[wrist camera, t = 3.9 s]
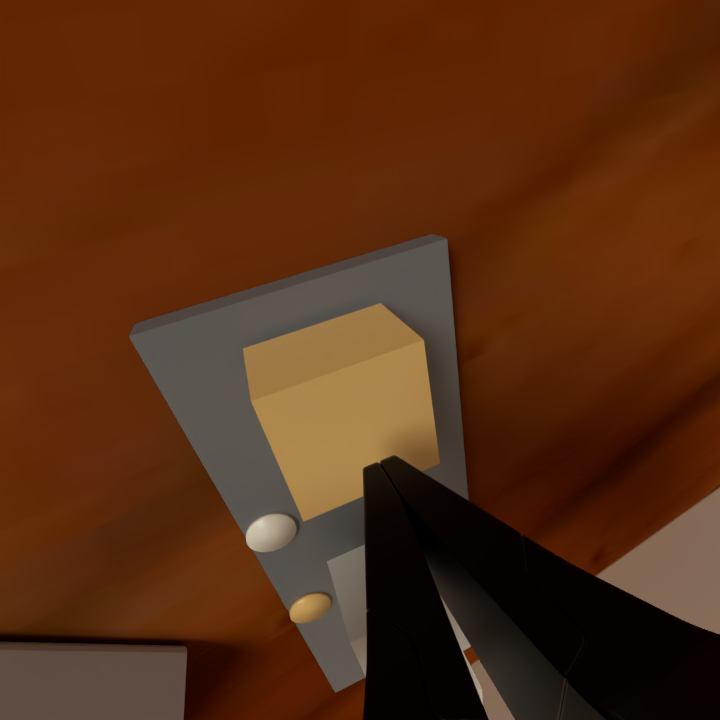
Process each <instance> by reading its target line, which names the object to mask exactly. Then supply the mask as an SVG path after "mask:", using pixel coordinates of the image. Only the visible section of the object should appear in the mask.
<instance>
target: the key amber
mask: <svg viewBox="0 0 720 720" xmlns="http://www.w3.org/2000/svg"><path fill="white" fill-rule="evenodd" d="M243 353H244V360H245V366H246V373H247V379H248V386H249V392H250V398H251V403H252V405H253V407H254V410H255V412H256V414H257V416H258V419H259V421H260V423H261V426H262V428H263V430H264V432H265V435H266V437H267V439H268V442H269V444H270V446H271V448H272V451H273V453H274V455H275V458H276V460H277V462H278V464H279V467H280V469H281V471H282V474H283V476H284V478H285V480H286V483H287V485H288V487H289V490H290V492H291V494H292V497H293V499H294V501H295V503H296V506H297V508H298V510H299V513H300V515H301V517H302V519H303V522H304V521H306V520H309V519H311V518H313V517H316V516H318V515H320V514H323V513H325V512H327V511H330V510H332V509H334V508H337V507H339V506H341V505H344V504H346V503H349V502H351V501H353V500H356V499H358V498H360V497H363V468H364V467H366V466H368V465H371V464H373V463H375V462H378V463H380V461H381V460H383V459H385V458H388V457H390V456H392V455H396V456H398V457H399V458H401V459H403V460H404V461H406V462H407V463H409V464H411V465H412V466H414V467H415V468H417V469H419V470H420V471H424V470H426V469H428V468H431V467H433V466H435V465H438V464H440V460H439V452H438V444H437V437H436V429H435V421H434V414H433V406H432V398H431V391H430V383H429V375H428V368H427V360H426V352H425V345H424V339H422V338H421V337H420V336H419V335H418V334H417V333H415V332H414V331H413V330H412V329H411V328H409V327H408V326H407V325H406V324H405V323H404V322H402V321H401V320H400V319H399V318H398V317H397V316H395V315H394V314H393V313H392V312H391V311H389V310H388V309H387V308H386V307H385V306H384V305H382V304H381V303H379V304H376V305H373V306H370V307H367V308H364V309H361V310H358V311H355V312H352V313H349V314H346V315H343V316H340V317H337V318H334V319H331V320H328V321H325V322H322V323H319V324H316V325H313V326H310V327H307V328H304V329H301V330H298V331H295V332H292V333H288V334H285V335H282V336H279V337H276V338H273V339H270V340H267V341H264V342H261V343H258V344H255V345H252V346H249V347H246V348H243Z"/></svg>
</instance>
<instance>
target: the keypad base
mask: <svg viewBox="0 0 720 720" xmlns="http://www.w3.org/2000/svg"><path fill="white" fill-rule="evenodd" d="M379 303H381V304H382V305H384V306H385V307H386V308H387V309H388V310H389V311H391V312H392V313H393V314H394V315H395V316H397V317H398V318H399V319H400V320H401V321H402V322H404V323H405V324H406V325H407V326H408V327H409V328H411V329H412V330H413V331H414V332H415V333H417V334H418V335H419V336H420V337H421V338H422V339H424V345H425V352H426V360H427V368H428V375H429V383H430V391H431V398H432V406H433V414H434V421H435V429H436V437H437V444H438V452H439V460H440V464H438V465H435V466H433V467H431V468H428V469H426V470H424V471H422V472H423V473H425V474H427V475H428V476H430V477H431V478H433V479H435V480H436V481H438V482H439V483H441V484H443V485H444V486H446V487H447V488H449V489H451V490H452V491H454V492H455V493H457V494H459V495H460V496H462V497H463V498H465V499H467V500H468V487H467V475H466V463H465V451H464V439H463V426H462V414H461V402H460V390H459V378H458V365H457V353H456V341H455V329H454V317H453V304H452V292H451V280H450V268H449V256H448V243H447V238H444V237H441V236H438V235H435V234H430V235H427V236H423V237H420V238H417V239H413V240H410V241H407V242H403V243H400V244H397V245H394V246H390V247H387V248H384V249H380V250H377V251H374V252H370V253H367V254H364V255H360V256H357V257H354V258H350V259H347V260H344V261H341V262H337V263H334V264H331V265H327V266H324V267H321V268H317V269H314V270H311V271H307V272H304V273H301V274H297V275H294V276H291V277H288V278H284V279H281V280H278V281H274V282H271V283H268V284H264V285H261V286H258V287H254V288H251V289H248V290H244V291H241V292H238V293H235V294H231V295H228V296H225V297H221V298H218V299H215V300H211V301H208V302H205V303H201V304H198V305H195V306H191V307H188V308H185V309H182V310H178V311H175V312H172V313H168V314H165V315H162V316H158V317H155V318H152V319H148V320H145V321H142V322H138V323H135V325H134V327H133V329H132V331H131V333H130V335H129V338H130V339H131V341H132V343H133V344H134V346H135V348H136V350H137V351H138V353H139V355H140V357H141V358H142V360H143V362H144V363H145V365H146V367H147V369H148V370H149V372H150V374H151V375H152V377H153V379H154V381H155V382H156V384H157V386H158V388H159V389H160V391H161V393H162V394H163V396H164V398H165V400H166V401H167V403H168V405H169V407H170V408H171V410H172V412H173V413H174V415H175V417H176V419H177V420H178V422H179V424H180V426H181V427H182V429H183V431H184V432H185V434H186V436H187V438H188V439H189V441H190V443H191V444H192V446H193V448H194V450H195V451H196V453H197V455H198V457H199V458H200V460H201V462H202V463H203V465H204V467H205V469H206V470H207V472H208V474H209V476H210V477H211V479H212V481H213V482H214V484H215V486H216V488H217V489H218V491H219V493H220V494H221V496H222V498H223V500H224V501H225V503H226V505H227V507H228V508H229V510H230V512H231V513H232V515H233V517H234V519H235V520H236V522H237V524H238V526H239V527H240V529H241V531H242V532H243V534H244V536H245V538H246V542H247V545H248V546H249V547H250V548H251V549H252V550H253V551H254V553H255V555H256V557H257V558H258V560H259V562H260V563H261V565H262V567H263V569H264V570H265V572H266V574H267V576H268V577H269V579H270V581H271V582H272V584H273V586H274V588H275V589H276V591H277V593H278V595H279V596H280V598H281V600H282V601H283V603H284V605H285V607H286V608H287V610H288V612H289V614H290V618H291V620H292V621H293V622H295V624H296V626H297V627H298V629H299V631H300V632H301V634H302V636H303V638H304V639H305V641H306V643H307V645H308V646H309V648H310V650H311V651H312V653H313V655H314V657H315V658H316V660H317V662H318V664H319V665H320V667H321V669H322V670H323V672H324V674H325V676H326V677H327V679H328V681H329V682H330V684H331V686H332V688H333V689H334V691H335V693H336V692H338V691H340V690H342V689H344V688H346V687H348V686H350V685H351V684H353V683H355V682H357V681H359V680H361V679H363V678H365V675H364V673H363V670H362V668H361V666H360V664H359V662H358V659H357V657H356V655H355V653H354V651H353V648H352V646H351V644H350V641H349V637H348V634H347V630H346V627H345V623H344V620H343V616H342V613H341V609H340V606H339V602H338V599H337V595H336V592H335V588H334V584H333V581H332V577H331V574H330V570H329V567H328V563H327V561H329V560H331V559H333V558H336V557H338V556H340V555H342V554H345V553H347V552H349V551H351V550H353V549H356V548H358V547H360V546H362V545H364V544H365V542H364V504H363V497H360V498H358V499H356V500H353V501H351V502H349V503H346V504H344V505H341V506H339V507H337V508H334V509H332V510H330V511H327V512H325V513H323V514H320V515H318V516H316V517H313V518H311V519H309V520H306V521H304V522H303V519H302V517H301V515H300V513H299V510H298V508H297V506H296V503H295V501H294V499H293V497H292V494H291V492H290V490H289V487H288V485H287V483H286V480H285V478H284V476H283V474H282V471H281V469H280V467H279V464H278V462H277V460H276V458H275V455H274V453H273V451H272V448H271V446H270V444H269V442H268V439H267V437H266V435H265V432H264V430H263V428H262V426H261V423H260V421H259V419H258V416H257V414H256V412H255V410H254V407H253V405H252V403H251V398H250V392H249V386H248V379H247V373H246V366H245V360H244V353H243V348H246V347H249V346H252V345H255V344H258V343H261V342H264V341H267V340H270V339H273V338H276V337H279V336H282V335H285V334H288V333H292V332H295V331H298V330H301V329H304V328H307V327H310V326H313V325H316V324H319V323H322V322H325V321H328V320H331V319H334V318H337V317H340V316H343V315H346V314H349V313H352V312H355V311H358V310H361V309H364V308H367V307H370V306H373V305H376V304H379ZM468 501H469V500H468Z"/></svg>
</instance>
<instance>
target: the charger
mask: <svg viewBox="0 0 720 720" xmlns="http://www.w3.org/2000/svg"><path fill="white" fill-rule="evenodd" d="M186 666H187V648H186V647H185V646H171V645H126V644H82V643H38V642H0V720H184V703H185V684H186Z"/></svg>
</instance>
